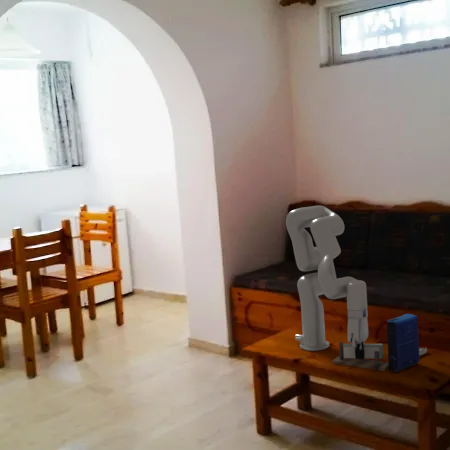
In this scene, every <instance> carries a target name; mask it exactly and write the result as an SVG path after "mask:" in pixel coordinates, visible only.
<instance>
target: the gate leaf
mask: <svg viewBox="0 0 450 450" xmlns="http://www.w3.org/2000/svg"><path fill="white" fill-rule="evenodd" d="M363 349H364V355H365V358H364V359H375V358H374V351H379V360H380V359H381V360H383V359H384V347H383V343H365V347H364V348H363ZM343 356H344V358H355V349H354V347H352V343H343Z"/></svg>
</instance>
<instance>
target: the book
mask: <svg viewBox="0 0 450 450" xmlns="http://www.w3.org/2000/svg"><path fill="white" fill-rule="evenodd" d="M386 337H387V339H386V340H387V357H388V358H387V360H388V361H387V362H388V368H387V370H388V371H390V372H392V373H397V372H401V371H403V370H407V369H409V368H411V367H412V366H416V365H417V364H418V363H420V356H419V347H420V346H419V344H420V343H419V341H420V340H419V318H418V315H414V314H412V313H405V314H403V315H401V316H398V317H395V318H394V317H393V318H390V319H387V320H386Z"/></svg>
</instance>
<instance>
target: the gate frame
mask: <svg viewBox="0 0 450 450" xmlns="http://www.w3.org/2000/svg"><path fill="white" fill-rule="evenodd" d="M343 344H344V343H343V342H342V341H339V342H338V347H339V348H338V350H339V355H338V356H337V357H336V358H334V359H332V364H334V365H340V366H348V367H355V368H362V369H369V370H374V371H383V372H386V371H387V370H388V361H380V359H379V351H374V358H373V360H372V359H367V358H364V359H363V360H361V359H356V358H344V347H343Z"/></svg>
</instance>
